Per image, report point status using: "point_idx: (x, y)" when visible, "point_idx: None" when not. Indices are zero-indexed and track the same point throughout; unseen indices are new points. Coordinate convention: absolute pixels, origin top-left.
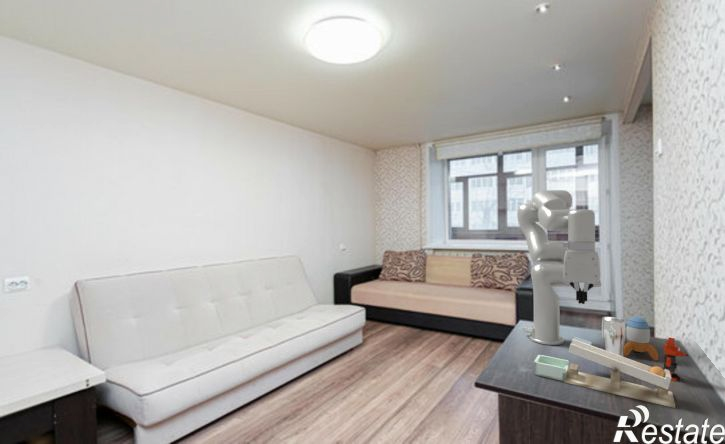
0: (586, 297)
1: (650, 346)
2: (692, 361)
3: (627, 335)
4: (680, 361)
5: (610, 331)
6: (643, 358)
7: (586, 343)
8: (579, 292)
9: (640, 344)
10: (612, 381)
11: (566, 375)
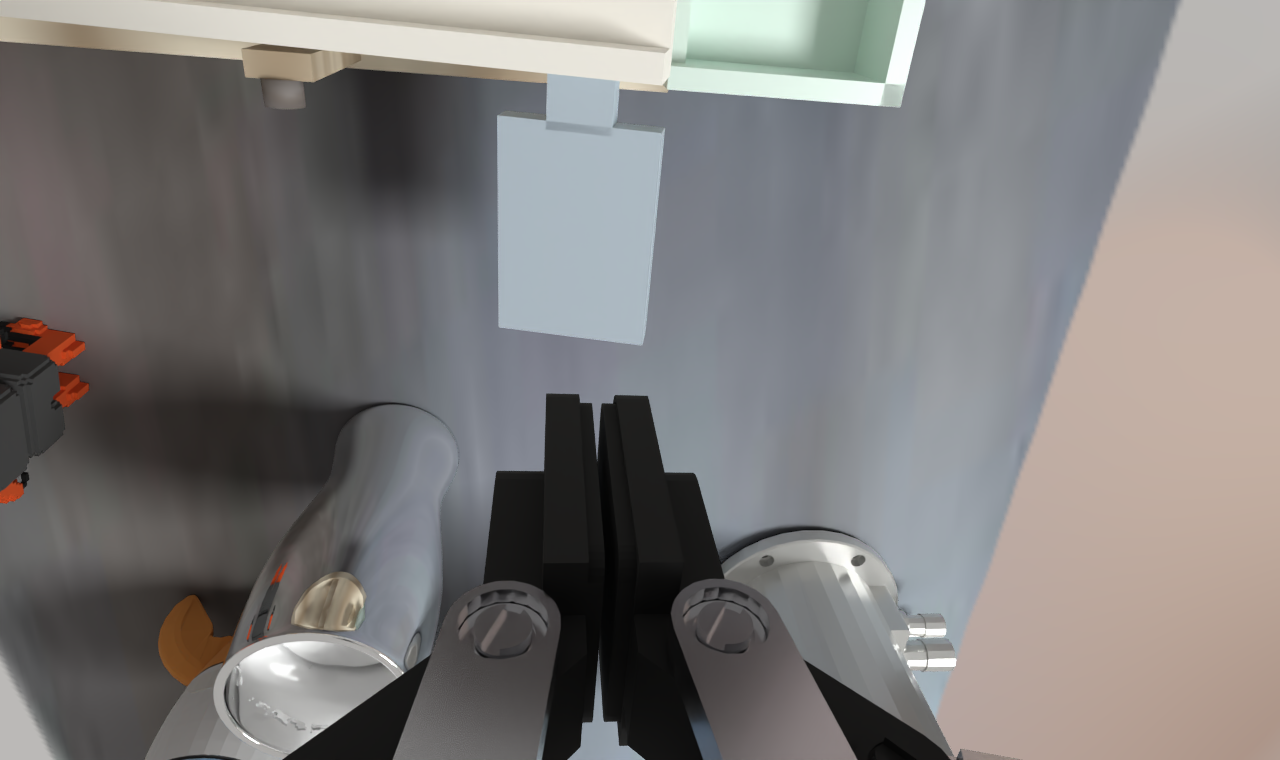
0: (498, 513)
1: (183, 666)
2: (26, 680)
3: None
4: (78, 650)
5: (357, 556)
6: None
7: (535, 241)
8: (653, 540)
9: None
10: None
11: None
